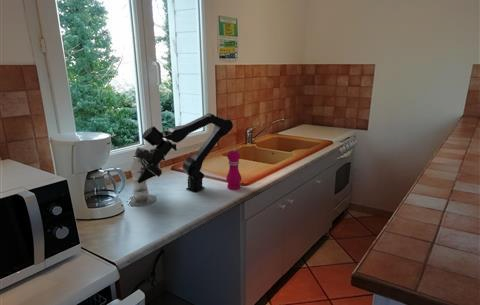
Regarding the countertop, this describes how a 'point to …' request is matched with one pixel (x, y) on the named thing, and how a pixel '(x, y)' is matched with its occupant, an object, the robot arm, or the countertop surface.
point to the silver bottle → (137, 170)
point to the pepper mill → (233, 170)
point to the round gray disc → (149, 201)
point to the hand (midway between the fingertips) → (136, 180)
